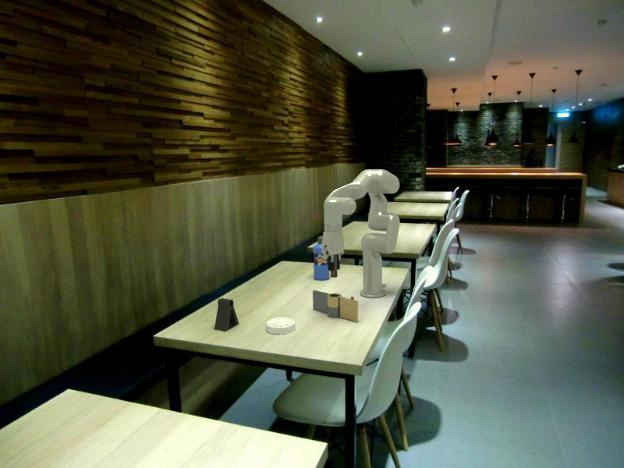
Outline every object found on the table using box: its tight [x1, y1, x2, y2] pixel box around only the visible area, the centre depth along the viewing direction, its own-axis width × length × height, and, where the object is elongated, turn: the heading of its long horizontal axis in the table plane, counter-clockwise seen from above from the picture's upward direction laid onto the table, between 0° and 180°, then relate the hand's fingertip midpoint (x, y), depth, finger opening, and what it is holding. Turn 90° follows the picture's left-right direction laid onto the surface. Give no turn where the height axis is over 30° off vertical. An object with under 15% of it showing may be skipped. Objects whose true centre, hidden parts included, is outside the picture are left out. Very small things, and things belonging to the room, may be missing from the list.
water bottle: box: [312, 235, 330, 282], centre depth 252 cm, size 9×9×25 cm
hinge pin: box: [329, 254, 338, 279], centre depth 190 cm, size 3×3×12 cm
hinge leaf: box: [327, 292, 359, 323], centre depth 190 cm, size 6×16×9 cm, turn 47°
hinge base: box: [312, 289, 341, 319], centre depth 196 cm, size 6×16×9 cm, turn 47°
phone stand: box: [213, 297, 240, 332], centre depth 182 cm, size 9×6×12 cm, turn 151°
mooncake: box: [265, 316, 296, 335], centre depth 179 cm, size 12×12×4 cm
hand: (333, 269), depth 190 cm, fingers closed on hinge pin, 3 cm apart
